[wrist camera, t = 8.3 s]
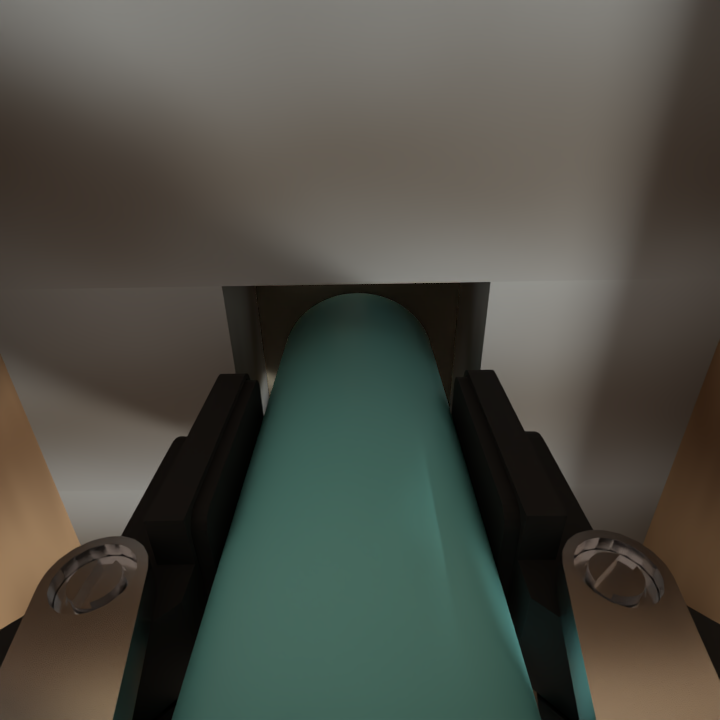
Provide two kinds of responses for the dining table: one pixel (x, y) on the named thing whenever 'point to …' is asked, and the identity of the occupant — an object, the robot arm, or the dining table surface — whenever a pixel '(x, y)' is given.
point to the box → (360, 234)
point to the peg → (357, 546)
